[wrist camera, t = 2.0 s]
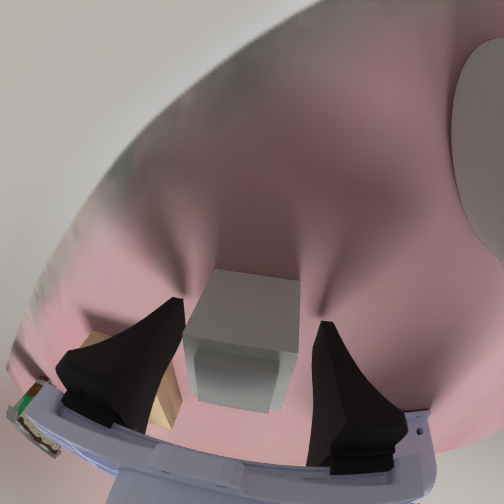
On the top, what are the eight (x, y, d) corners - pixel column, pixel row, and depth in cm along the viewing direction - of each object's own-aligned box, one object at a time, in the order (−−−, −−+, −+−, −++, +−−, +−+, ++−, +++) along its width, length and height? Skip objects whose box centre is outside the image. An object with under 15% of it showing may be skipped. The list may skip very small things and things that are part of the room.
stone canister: (299, 280, 14) (297, 365, 9) (286, 340, 16) (279, 420, 11) (215, 268, 14) (176, 344, 9) (215, 329, 16) (187, 403, 12)
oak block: (170, 348, 18) (152, 384, 15) (183, 398, 22) (171, 429, 19) (95, 328, 19) (73, 356, 16) (118, 379, 23) (102, 405, 19)
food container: (22, 359, 28) (-10, 402, 19) (45, 372, 27) (11, 421, 18) (56, 405, 33) (33, 444, 25) (80, 417, 33) (57, 460, 24)
